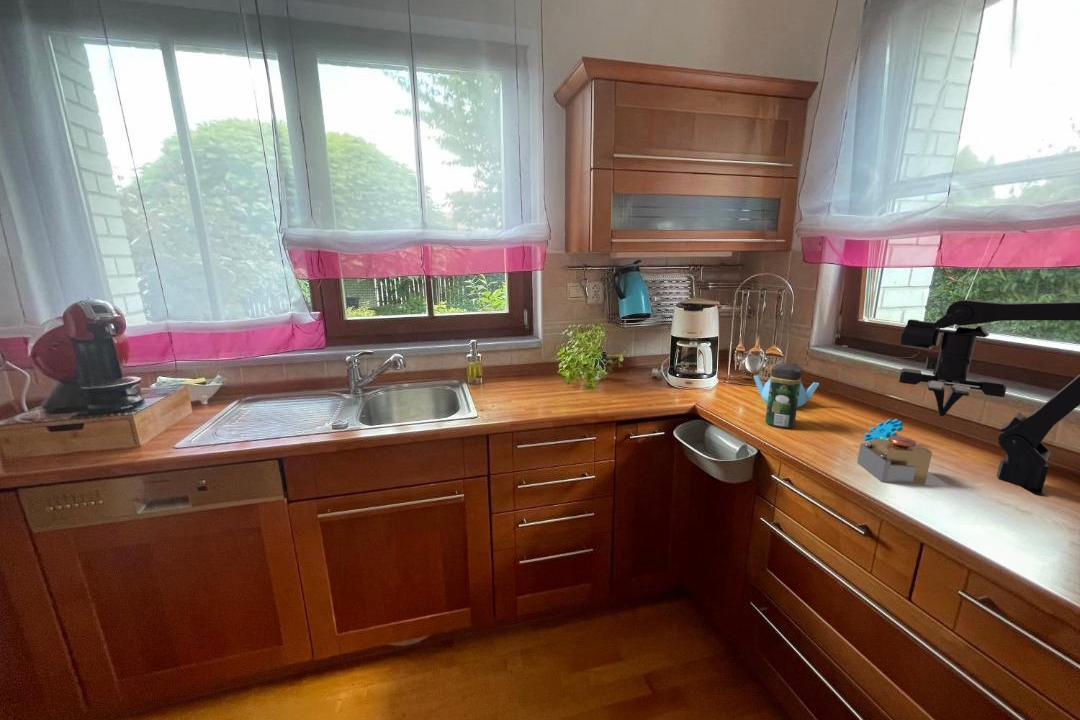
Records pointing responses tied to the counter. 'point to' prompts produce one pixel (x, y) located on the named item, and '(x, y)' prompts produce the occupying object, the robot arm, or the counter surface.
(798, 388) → the coffee jar
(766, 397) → the teapot
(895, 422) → the gear
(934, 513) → the counter surface
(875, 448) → the tan box
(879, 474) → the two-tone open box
